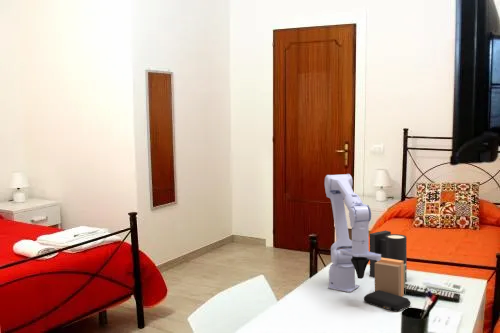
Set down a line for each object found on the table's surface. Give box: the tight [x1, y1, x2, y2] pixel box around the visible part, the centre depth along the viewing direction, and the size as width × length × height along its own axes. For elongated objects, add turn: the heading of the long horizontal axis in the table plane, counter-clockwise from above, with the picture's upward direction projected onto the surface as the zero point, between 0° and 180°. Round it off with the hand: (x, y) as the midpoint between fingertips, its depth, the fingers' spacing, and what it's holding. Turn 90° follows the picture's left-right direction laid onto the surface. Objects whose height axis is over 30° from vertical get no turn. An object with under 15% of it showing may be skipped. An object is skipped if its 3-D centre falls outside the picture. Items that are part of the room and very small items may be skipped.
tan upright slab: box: [374, 258, 406, 297], centre depth 190 cm, size 8×9×13 cm
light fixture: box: [369, 229, 408, 283], centre depth 207 cm, size 10×14×18 cm
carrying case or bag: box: [363, 290, 412, 312], centre depth 180 cm, size 11×3×15 cm
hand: (360, 277), depth 181 cm, fingers closed
